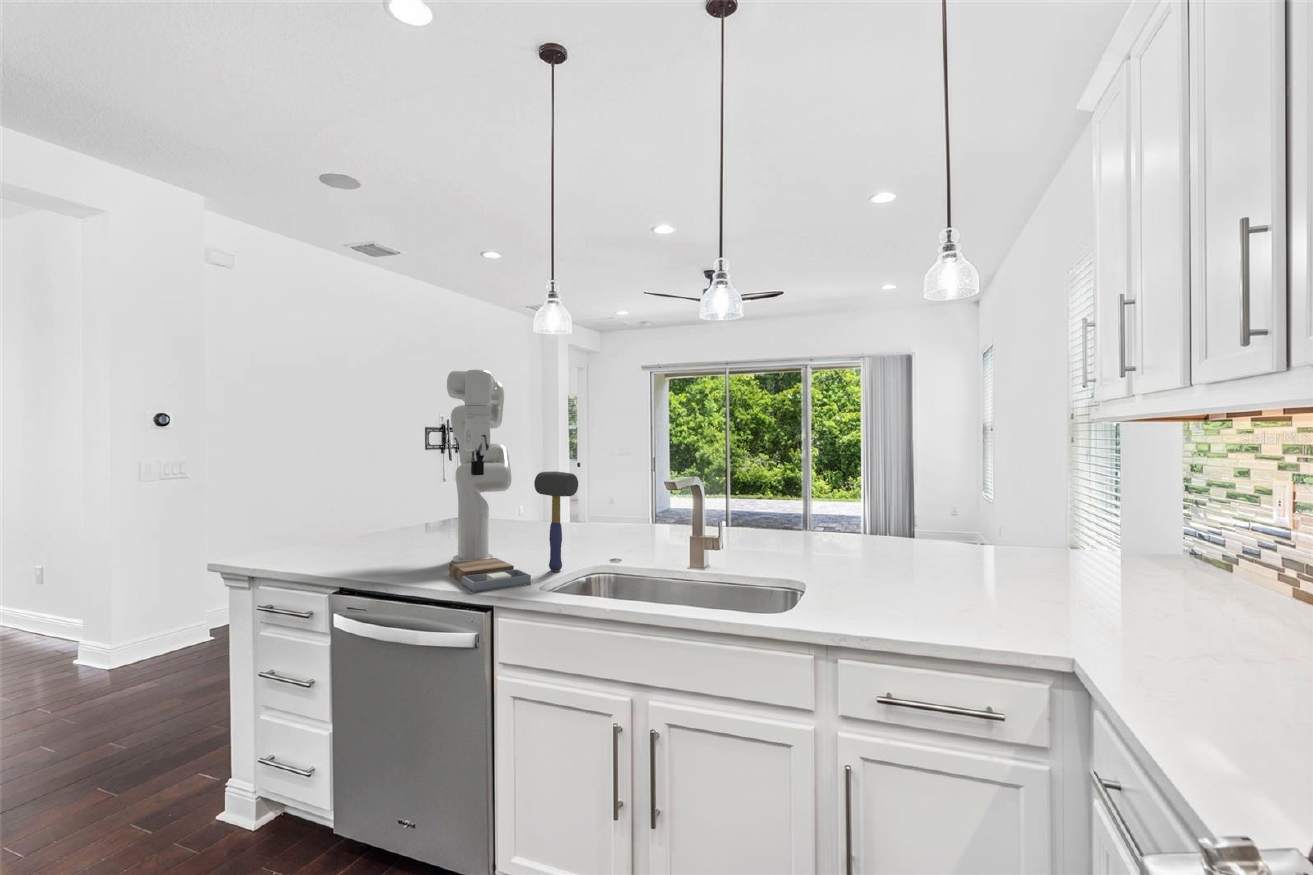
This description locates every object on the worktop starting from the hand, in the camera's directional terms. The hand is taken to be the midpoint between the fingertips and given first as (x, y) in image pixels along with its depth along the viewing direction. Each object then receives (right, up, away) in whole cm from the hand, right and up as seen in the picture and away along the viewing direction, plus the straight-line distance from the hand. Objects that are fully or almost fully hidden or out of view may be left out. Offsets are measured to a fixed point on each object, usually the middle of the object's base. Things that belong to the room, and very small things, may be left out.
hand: (477, 474), depth 181 cm
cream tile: (+10, -26, -14) cm, 31 cm away
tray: (+9, -29, -12) cm, 33 cm away
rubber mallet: (+22, -30, +5) cm, 37 cm away
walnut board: (+2, -29, -3) cm, 29 cm away
